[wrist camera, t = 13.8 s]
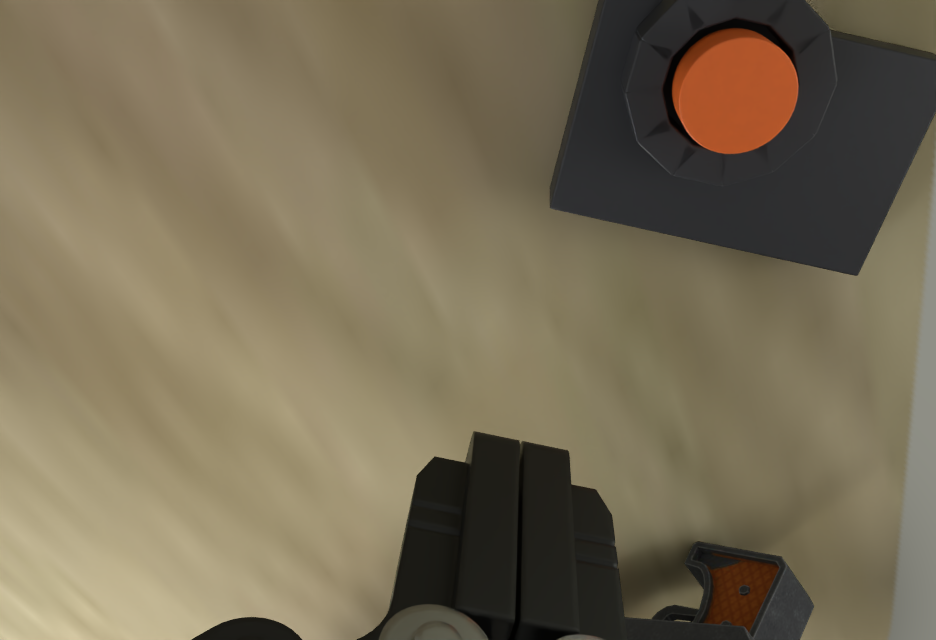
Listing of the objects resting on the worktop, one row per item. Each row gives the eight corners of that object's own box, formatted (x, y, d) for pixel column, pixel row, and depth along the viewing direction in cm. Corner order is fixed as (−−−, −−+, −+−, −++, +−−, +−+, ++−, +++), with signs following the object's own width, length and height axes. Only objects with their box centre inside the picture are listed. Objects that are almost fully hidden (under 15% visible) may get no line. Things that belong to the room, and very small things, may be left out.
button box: (840, 253, 33) (874, 298, 30) (549, 189, 33) (549, 226, 30) (949, 16, 29) (1004, 36, 25) (614, -60, 29) (622, -51, 25)
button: (760, 149, 28) (773, 165, 26) (657, 126, 28) (663, 141, 26) (801, 41, 26) (817, 51, 25) (691, 16, 26) (700, 25, 25)
